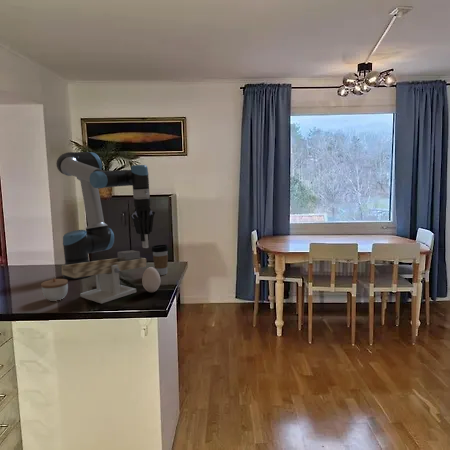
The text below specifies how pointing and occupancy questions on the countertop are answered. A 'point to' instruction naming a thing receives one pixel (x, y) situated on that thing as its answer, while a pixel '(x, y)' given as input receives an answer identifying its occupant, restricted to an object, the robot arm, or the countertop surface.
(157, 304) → the countertop surface
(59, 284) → the lidded jar
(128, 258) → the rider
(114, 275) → the stand
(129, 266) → the beam
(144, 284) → the egg
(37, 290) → the countertop surface
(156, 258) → the coffee cup
